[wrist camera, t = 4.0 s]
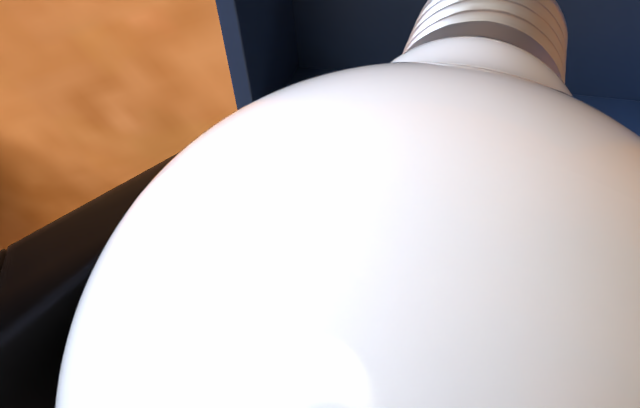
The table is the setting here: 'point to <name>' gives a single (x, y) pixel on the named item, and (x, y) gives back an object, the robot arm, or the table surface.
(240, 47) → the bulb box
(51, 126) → the table surface
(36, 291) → the robot arm
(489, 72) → the lightbulb
